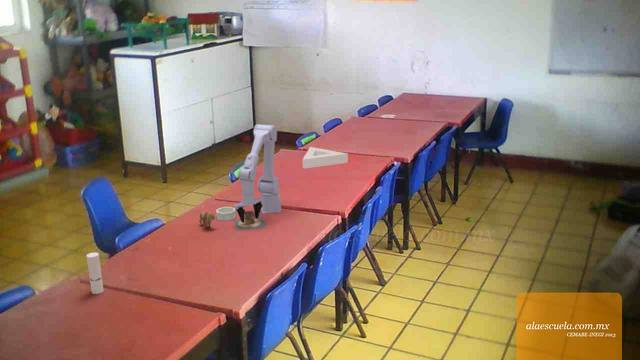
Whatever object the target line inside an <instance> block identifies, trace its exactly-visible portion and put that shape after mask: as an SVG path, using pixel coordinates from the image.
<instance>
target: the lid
mask: <svg viewBox="0 0 640 360" xmlns="http://www.w3.org/2000/svg"><path fill="white" fill-rule="evenodd" d="M244 219H245V221H244V223H243V222H241V221H239V222H238V225H239V226H240V227H243V228H254V227H257V226H260V225H261V220H259V219H255V215H254V210H248V211H246V210H245V214H244Z"/></svg>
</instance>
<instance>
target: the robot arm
mask: <svg viewBox="0 0 640 360" xmlns="http://www.w3.org/2000/svg"><path fill="white" fill-rule="evenodd" d="M252 134H253V137H254V138H253V142H252V145H251V151H250V153H248V154H247V155H246V158H245V160H244V164H243V165H242V168H240V169H239V170H238V171H239V172H238V176H237V177H238V179H239V183H240V184H241V199H242V201H239V202H238V203H236V204H234V205H233V208H235V212H237V214H238V216H239V219H241V222H243V223H244V221H245V212H246V210H245V209H244V208H246V207H249V206H253V212H254V218H256V219H258V217H260V212H261V213H262V214H270V213H271V214H272V213H280V212H282V198H281V193H280V192H279V190H280V181H279V178H278V176H276V175H274V167H275V142H277V139H278V137H277V136H278V129H277V127H276V126H275V125H274V124H272V125H271V124H259V123H257V124H255V125H254V127H253V133H252ZM262 148H263V167H262V169H263V170H262V175H261V176H259V177H258V183H257V186H256V188H257V191H258V192H259V194H260V195H261V197H260V198H255V183H254V181H255V179H256V176H257V167H258V163H259V161H260V158H259V154H260V152H261V150H262Z"/></svg>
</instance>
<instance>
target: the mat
mask: <svg viewBox="0 0 640 360" xmlns="http://www.w3.org/2000/svg"><path fill="white" fill-rule="evenodd" d="M254 218H255V217H254ZM255 219H256V218H255ZM258 219H259V220H261V225H260V226H257V227H254V228H243V227H240V226H239V225H238V222H239V221H241V219H240V218H239V219H233V223H234V226H235V228H236V231H237V232H238V231H248V230H255V229H256V230H257V229H266V228H268V227H267V225H266V223H265V220H264V218H263V216H259V217H258Z"/></svg>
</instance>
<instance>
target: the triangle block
mask: <svg viewBox="0 0 640 360" xmlns="http://www.w3.org/2000/svg"><path fill="white" fill-rule="evenodd" d="M347 163H349V154H348V153H347V152H346V153H345V152H340V151H335V150H330V149H324V148H320V147H319V148H318V147H313V146H309V148H308V150H307V151H306V153H305V154H304V156H303V158H302V169H303V168H304V169H310V168H319V167H325V166H331V165H332V166H333V165H340V164H347Z"/></svg>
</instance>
